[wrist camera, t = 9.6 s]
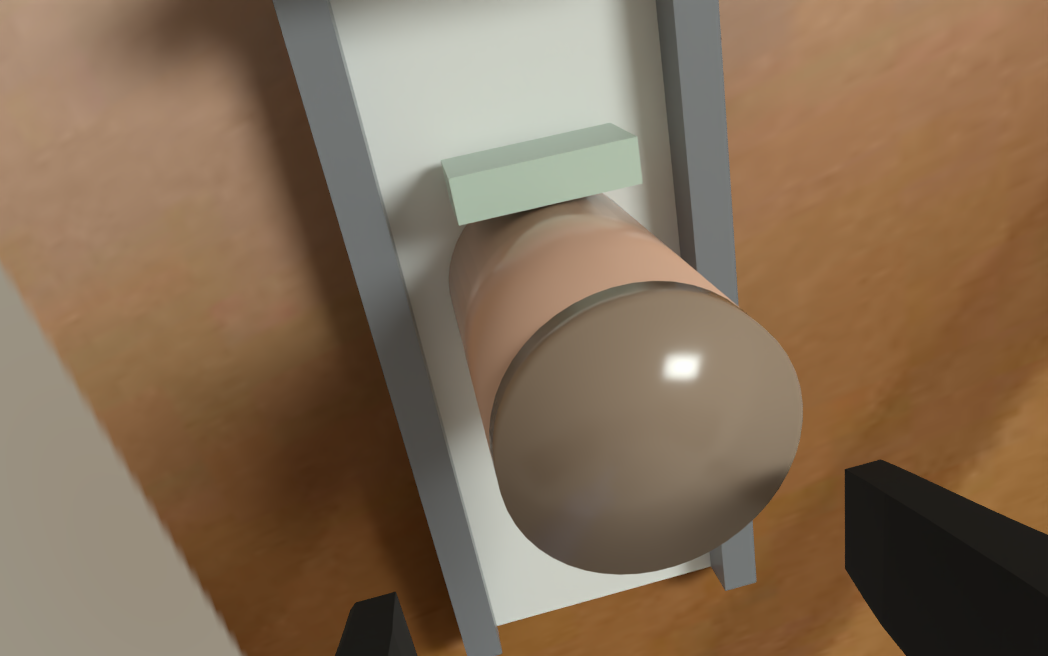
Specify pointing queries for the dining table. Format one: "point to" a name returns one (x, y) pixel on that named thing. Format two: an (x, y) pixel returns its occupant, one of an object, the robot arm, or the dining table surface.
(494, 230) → the terracotta jar
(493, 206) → the plate
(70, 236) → the dining table surface
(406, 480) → the dining table surface
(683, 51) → the pusher lane
